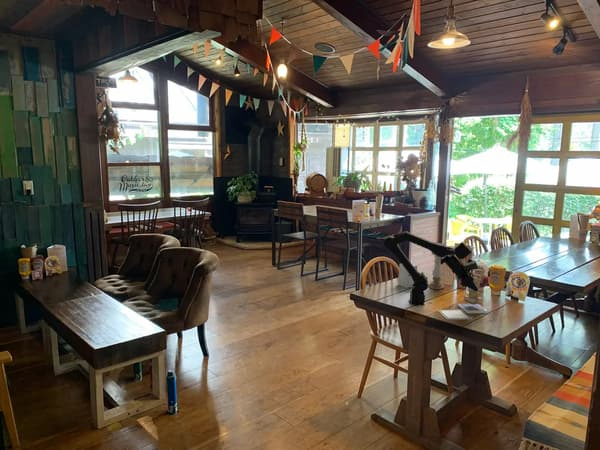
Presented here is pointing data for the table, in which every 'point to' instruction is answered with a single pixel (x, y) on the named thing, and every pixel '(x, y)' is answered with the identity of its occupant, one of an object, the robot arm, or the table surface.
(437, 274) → the candle holder
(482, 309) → the ink pad
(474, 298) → the wooden stamp
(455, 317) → the marked card
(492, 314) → the table surface
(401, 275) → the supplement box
